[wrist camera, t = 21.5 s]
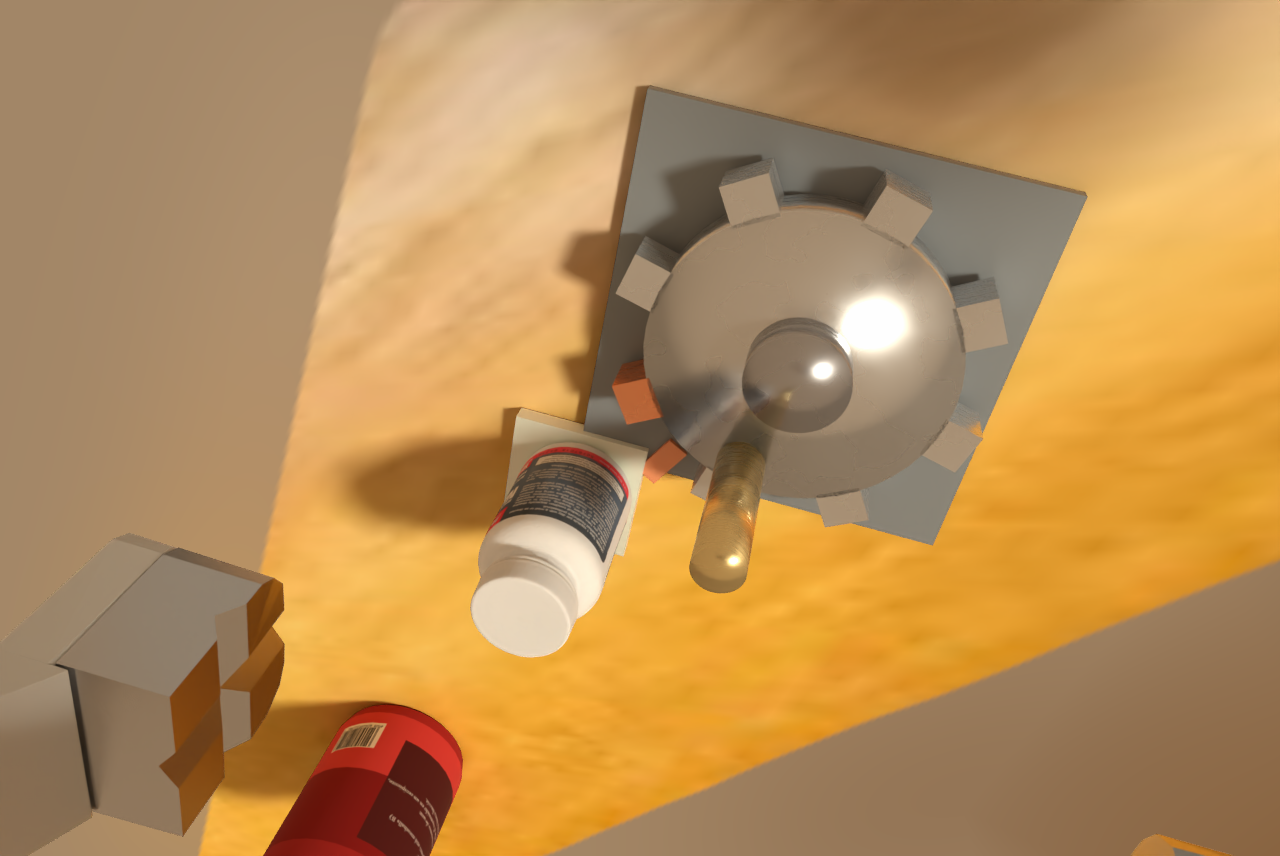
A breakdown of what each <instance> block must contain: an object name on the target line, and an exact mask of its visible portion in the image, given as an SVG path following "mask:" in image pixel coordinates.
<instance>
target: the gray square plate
mask: <svg viewBox="0 0 1280 856" xmlns="http://www.w3.org/2000/svg"><path fill="white" fill-rule="evenodd" d="M772 157H774V161H775V164H776V168H777V171H778V175H779V178H780V182H781V185H782V189H783V193H784V196H786V195H799V194H810V195H826V196H832V197H838V198H843V199H848V200H851V201H854V202H857V203H861V204H864V203H865V202H866V200H867V198H868V197H869V195H870V194H871V192H872V191H873V189H874V187H875V186H876V184H877V183H878V181H879V179H880V178H881V176H882V175H883V173H884V172H885V170H886V169H887V170H889V171H891V172H893V173H895V174H896V175H898V176H900V177H902V178H904V179H906V180H907V181H909V182H911V183H913V184H915V185H917V186H918V187H920V188H922V189H924V190H926V191H927V192H929V193H930V195H931V201H932V208H933V212H932V213H931V215H930V216H929V218H928V219H927V221H926V222H925V223H924V225H923V226H922V228H921V229H920V231H919V232H918V234H917V235H916V236H917V237H918V238H919V239H920V240H921V241H922V242H923V243H924V244H925V245H926V246H927V247H928V248H929V250H930V251H931V252H932V253H933V254H934V255H935V257H936V258H937V260H938V261H939V263H940V264H941V266H942V267H943V269H944V270H945V272H946V274H947V276H948V279H949V281H950V283H951V285H952V287H953V286H957V285H961V284H966V283H970V282H974V281H978V280H983V279H987V278H991V277H994V280H995V284H996V288H997V292H998V295H999V299H1000V304H1001V309H1002V314H1003V320H1004V325H1005V330H1006V335H1007V340H1008V344H1004V345H1000V346H995V347H990V348H986V349H981V350H976V351H971V352H967V353H966V367H965V375H964V381H963V387H962V391H961V394H960V397H959V400H958V402H959V403H961V404H963V405H964V406H966V407H968V408H970V409H972V410H974V411H976V412H978V413H979V419H980V425H981V430H982V433H983V431H984V429H985V426H986V424H987V422H988V419H989V417H990V415H991V413H992V410H993V408H994V406H995V404H996V401H997V399H998V397H999V395H1000V392H1001V390H1002V388H1003V386H1004V383H1005V381H1006V379H1007V377H1008V374H1009V372H1010V370H1011V368H1012V365H1013V363H1014V361H1015V359H1016V356H1017V354H1018V352H1019V350H1020V347H1021V345H1022V343H1023V341H1024V338H1025V336H1026V334H1027V332H1028V329H1029V327H1030V325H1031V323H1032V320H1033V318H1034V316H1035V314H1036V311H1037V309H1038V307H1039V305H1040V302H1041V300H1042V298H1043V296H1044V293H1045V291H1046V289H1047V287H1048V284H1049V282H1050V280H1051V278H1052V275H1053V273H1054V271H1055V269H1056V266H1057V264H1058V262H1059V260H1060V257H1061V255H1062V253H1063V251H1064V248H1065V246H1066V244H1067V242H1068V239H1069V237H1070V235H1071V233H1072V230H1073V228H1074V226H1075V224H1076V221H1077V219H1078V217H1079V215H1080V212H1081V210H1082V208H1083V206H1084V203H1085V201H1086V199H1087V195H1086V193H1085V192H1082V191H1078V190H1074V189H1070V188H1066V187H1062V186H1057V185H1053V184H1049V183H1045V182H1041V181H1037V180H1033V179H1029V178H1025V177H1021V176H1017V175H1013V174H1009V173H1004V172H1000V171H996V170H992V169H988V168H984V167H980V166H976V165H972V164H968V163H964V162H960V161H956V160H951V159H947V158H943V157H939V156H935V155H931V154H927V153H923V152H919V151H915V150H911V149H907V148H903V147H899V146H894V145H890V144H886V143H882V142H878V141H874V140H870V139H866V138H862V137H858V136H854V135H850V134H846V133H841V132H837V131H833V130H829V129H825V128H821V127H817V126H813V125H809V124H805V123H801V122H797V121H793V120H788V119H784V118H780V117H776V116H772V115H768V114H764V113H760V112H756V111H752V110H748V109H744V108H740V107H735V106H731V105H727V104H723V103H719V102H715V101H711V100H707V99H703V98H699V97H695V96H691V95H687V94H683V93H678V92H674V91H670V90H666V89H662V88H658V87H654V86H649V87H648V89H647V94H646V99H645V105H644V110H643V115H642V121H641V126H640V131H639V137H638V142H637V147H636V153H635V158H634V163H633V169H632V174H631V179H630V185H629V190H628V195H627V201H626V206H625V211H624V217H623V222H622V227H621V233H620V238H619V243H618V249H617V254H616V259H615V265H614V270H613V275H612V281H611V286H610V291H609V297H608V302H607V307H606V313H605V318H604V323H603V329H602V334H601V339H600V345H599V350H598V355H597V360H596V366H595V371H594V376H593V382H592V387H591V392H590V398H589V403H588V408H587V414H586V419H585V424H584V430H583V431H586V432H590V433H594V434H598V435H601V436H605V437H609V438H612V439H616V440H620V441H623V442H627V443H631V444H634V445H638V446H642V447H645V448H649V450H648V455H647V459H646V462H645V466H644V471H643V475H644V476H646V477H647V478H648V479H649V480H650V481H652V482H653V483H655V482H656V481H657V480H659V479H660V478H661V477H662V476H663V475H664V474H666V473H669V474H673V475H677V476H680V477H684V478H688V479H691V480H694V478H695V474H696V471H697V467H698V465H699V464H700V462H699V461H698V460H696V459H695V458H694V457H693V456H692V455H691V454H690V453H689V452H688V451H687V450H685V449H684V448H683V447H682V446H681V445H680V443H679V442H678V441H677V440H676V439H675V437H674V436H673V435H672V434H671V432H670V431H669V430H668V428H667V427H666V425H665V423H664V422H663V420H662V419H661V417H660V418H656V419H651V420H646V421H642V422H637V423H632V424H626V421H625V419H624V416H623V413H622V411H621V408H620V406H619V403H618V401H617V398H616V396H615V393H614V391H613V388H612V385H613V383H614V381H615V378H616V376H617V374H618V372H619V370H620V368H621V366H622V364H624V363H628V362H633V361H637V360H641V359H644V338H645V330H646V325H647V321H648V318H649V314H650V311H648V310H646V309H644V308H642V307H640V306H638V305H636V304H634V303H633V302H631V301H629V300H627V299H625V298H623V297H621V296H619V295H617V294H616V291H617V289H618V287H619V285H620V284H621V282H622V280H623V278H624V276H625V274H626V272H627V270H628V268H629V266H630V264H631V262H632V260H633V258H634V256H635V254H636V252H637V250H638V249H639V247H640V245H641V243H642V241H643V240H644V238H645V236H648V237H649V238H651V239H653V240H655V241H657V242H659V243H661V244H663V245H664V246H666V247H668V248H670V249H672V250H674V251H676V252H678V253H679V254H680V253H681V252H682V250H683V249H684V248H685V247H686V246H687V245H688V243H689V242H690V241H691V240H692V239H693V238H694V237H696V236H697V235H698V234H699V233H700V232H701V231H702V230H703V229H704V228H706V227H707V226H709V225H710V224H712V223H713V222H715V221H716V220H717V219H719V218H720V217H722V216H724V215H726V214H727V212H726V209H725V206H724V203H723V199H722V196H721V193H720V190H719V186H720V183H721V181H722V179H723V176H724V174H725V172H726V171H727V170H731V169H734V168H738V167H741V166H745V165H748V164H751V163H755V162H758V161H762V160H765V159H769V158H772ZM975 449H976V448H975ZM975 449H974V450H973V452H972V453H971V454H970V455H969V456H968V458H967V459H966V460H965V461H964V462H963V464H962V465H961V466H960V467H959V468H958V470H957V471H956V472H953V471H951V470H949V469H947V468H945V467H943V466H941V465H940V464H938V463H936V462H934V461H932V460H930V459H928V458H926V457H924V456H920V457H919V458H918V459H917V460H916V461H914V462H913V463H912V464H911V465H910V466H908V467H907V468H905V469H904V470H902V471H901V472H899V473H898V474H896V475H894V476H893V477H891V478H889V479H887V480H885V481H883V482H881V483H879V484H877V485H874V486H871V487H868V491H869V520H866V521H860V522H854V523H853V524H856V525H860V526H864V527H867V528H871V529H875V530H878V531H882V532H886V533H889V534H893V535H897V536H900V537H904V538H908V539H911V540H915V541H919V542H922V543H926V544H930V545H933V543H934V541H935V539H936V537H937V534H938V532H939V530H940V528H941V525H942V523H943V521H944V519H945V516H946V514H947V512H948V510H949V507H950V505H951V503H952V501H953V498H954V496H955V494H956V492H957V489H958V487H959V485H960V483H961V480H962V478H963V476H964V474H965V471H966V469H967V467H968V465H969V462H970V460H971V458H972V456H973V453H974V451H975ZM760 498H761V499H765V500H768V501H772V502H776V503H779V504H783V505H787V506H790V507H794V508H798V509H801V510H805V511H809V512H812V513H816V514H820V515H821V513H820V510H819V506H818V503H817V500H816V498H792V497H781V496H776V495H771V494H766V493H761V495H760Z"/></svg>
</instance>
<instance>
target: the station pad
mask: <svg viewBox="0 0 1280 856" xmlns="http://www.w3.org/2000/svg"><path fill="white" fill-rule="evenodd" d="M583 430H584V424H581V423H577V422H573V421H569V420H566V419H562V418H558V417H555V416H551V415H547V414H544V413H540V412H536V411H533V410H529V409H525V408H521V409H520V411H519V413H518V414H517V416H516V422H515V429H514V436H513V443H512V450H511V457H510V464H509V471H508V478H507V485H506V492H505V499H506V497H507V496H508V494H509V492H510V490H511V488H512V486H513V484H514V483H515V481H516V479H517V477H518V475H519V473H520V471H521V469H522V468H523V466H524V465H525V463H526V461H527V460H528V459H529V458H530V457H531V456H532V455H533V454H534V453H535V452H537V451H538V450H540V449H542V448H543V447H546V446H548V445H551V444H556V443H563V442H572V443H580V444H584V445H588V446H591V447H593V448H596V449H598V450H600V451H602V452H603V453H605V454H606V455H608V456H609V457H610V458H612V459H613V460H614V461H615V462H616V463H617V464H618V465H619V466H620V468H621V469H622V470H623V472H624V473H625V475H626V477H627V479H628V482H629V485H630V488H631V495H632V503H631V509H630V513H629V516H628V519H627V522H626V525H625V527H624V530H623V532H622V535H621V538H620V541H619V543H618V546H617V548H616V551H615V554H617V555H621V556H624V553H625V550H626V547H627V544H628V540H629V535H630V531H631V527H632V522H633V518H634V514H635V509H636V505H637V501H638V497H639V492H640V488H641V484H642V479H643V471H644V466H645V462H646V459H647V455H648V450H649V448H645V447H642V446H638V445H634V444H631V443H627V442H623V441H620V440H616V439H612V438H609V437H605V436H601V435H598V434H594V433H590V432H586V431H583ZM505 499H504V501H505Z"/></svg>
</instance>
